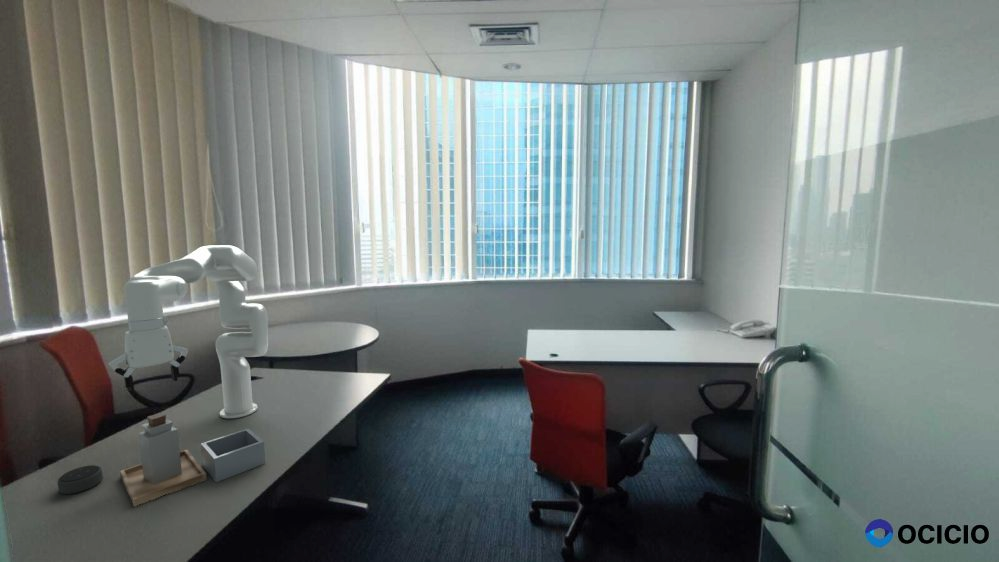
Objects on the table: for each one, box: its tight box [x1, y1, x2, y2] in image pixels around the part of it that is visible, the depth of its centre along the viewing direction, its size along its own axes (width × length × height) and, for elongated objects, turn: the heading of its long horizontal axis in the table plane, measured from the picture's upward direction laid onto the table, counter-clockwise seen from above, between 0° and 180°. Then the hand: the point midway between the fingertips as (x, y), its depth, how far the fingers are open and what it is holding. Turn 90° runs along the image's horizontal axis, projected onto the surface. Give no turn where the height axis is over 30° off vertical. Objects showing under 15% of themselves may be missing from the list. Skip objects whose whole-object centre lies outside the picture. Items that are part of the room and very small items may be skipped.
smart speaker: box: [57, 464, 103, 495], centre depth 120 cm, size 9×9×4 cm
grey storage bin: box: [200, 428, 266, 483], centre depth 131 cm, size 13×13×7 cm
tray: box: [119, 449, 207, 507], centre depth 124 cm, size 20×16×2 cm
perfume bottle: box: [137, 412, 182, 485], centre depth 123 cm, size 7×7×18 cm
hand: (153, 384), depth 120 cm, fingers open, 9 cm apart
